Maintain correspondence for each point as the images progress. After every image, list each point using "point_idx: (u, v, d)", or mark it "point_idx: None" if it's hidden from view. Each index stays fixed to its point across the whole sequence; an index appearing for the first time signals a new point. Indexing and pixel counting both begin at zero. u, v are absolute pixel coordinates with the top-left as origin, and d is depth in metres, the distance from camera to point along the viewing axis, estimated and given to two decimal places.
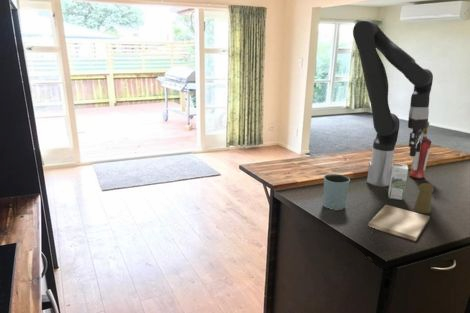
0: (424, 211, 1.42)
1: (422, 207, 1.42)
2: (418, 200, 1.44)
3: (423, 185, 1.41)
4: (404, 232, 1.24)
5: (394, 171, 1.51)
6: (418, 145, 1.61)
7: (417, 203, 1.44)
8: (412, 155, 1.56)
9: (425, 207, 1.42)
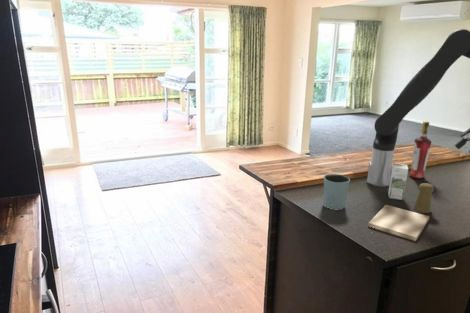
0: (424, 211, 1.42)
1: (422, 207, 1.42)
2: (418, 200, 1.44)
3: (423, 185, 1.41)
4: (404, 232, 1.24)
5: (394, 171, 1.51)
6: (463, 143, 1.41)
7: (417, 203, 1.44)
8: None
9: (425, 207, 1.42)
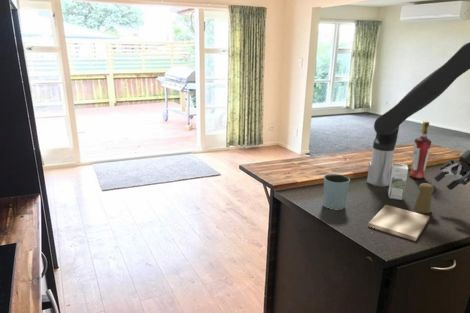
0: (424, 211, 1.42)
1: (422, 207, 1.42)
2: (418, 200, 1.44)
3: (423, 185, 1.41)
4: (404, 232, 1.24)
5: (394, 171, 1.51)
6: (442, 176, 1.45)
7: (417, 203, 1.44)
8: (449, 188, 1.38)
9: (425, 207, 1.42)
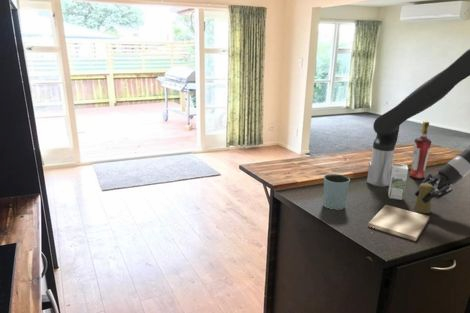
0: (424, 211, 1.42)
1: (422, 207, 1.42)
2: (418, 200, 1.44)
3: (423, 185, 1.41)
4: (404, 232, 1.24)
5: (394, 171, 1.51)
6: None
7: (417, 203, 1.44)
8: (424, 201, 1.41)
9: (425, 207, 1.42)
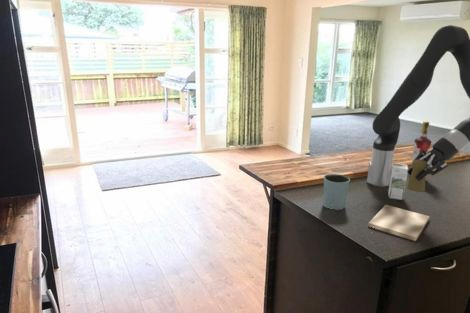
0: (418, 190, 1.31)
1: (415, 185, 1.32)
2: (411, 178, 1.33)
3: (416, 161, 1.31)
4: (404, 232, 1.24)
5: (394, 171, 1.51)
6: None
7: (410, 181, 1.33)
8: (417, 178, 1.30)
9: (419, 185, 1.31)
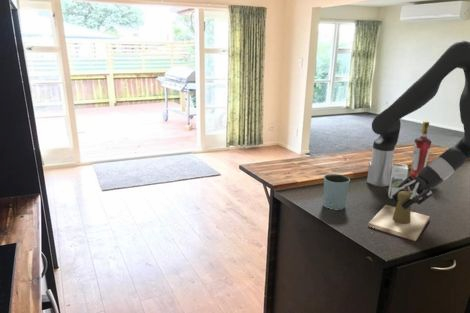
0: (403, 222, 1.30)
1: (400, 217, 1.30)
2: (396, 209, 1.32)
3: (402, 193, 1.29)
4: (404, 232, 1.24)
5: (394, 171, 1.51)
6: None
7: (395, 213, 1.32)
8: (403, 207, 1.28)
9: (404, 217, 1.30)
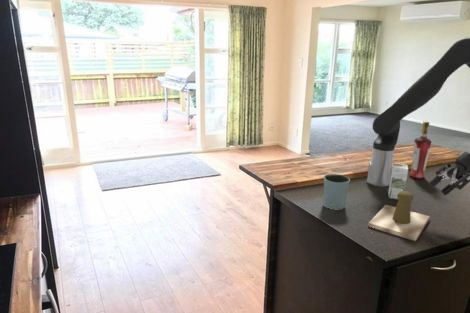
0: (403, 222, 1.30)
1: (400, 217, 1.30)
2: (396, 209, 1.32)
3: (402, 193, 1.29)
4: (404, 232, 1.24)
5: (394, 171, 1.51)
6: (438, 180, 1.34)
7: (395, 213, 1.32)
8: (443, 193, 1.27)
9: (404, 217, 1.30)
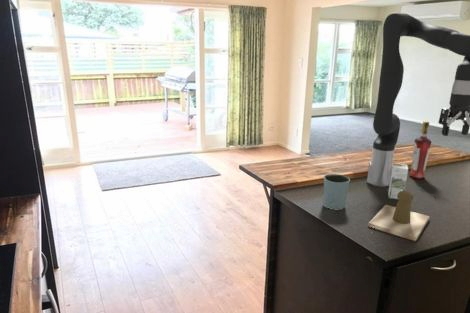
0: (403, 222, 1.30)
1: (400, 217, 1.30)
2: (396, 209, 1.32)
3: (402, 193, 1.29)
4: (404, 232, 1.24)
5: (394, 171, 1.51)
6: (465, 127, 1.39)
7: (395, 213, 1.32)
8: (444, 134, 1.38)
9: (404, 217, 1.30)
